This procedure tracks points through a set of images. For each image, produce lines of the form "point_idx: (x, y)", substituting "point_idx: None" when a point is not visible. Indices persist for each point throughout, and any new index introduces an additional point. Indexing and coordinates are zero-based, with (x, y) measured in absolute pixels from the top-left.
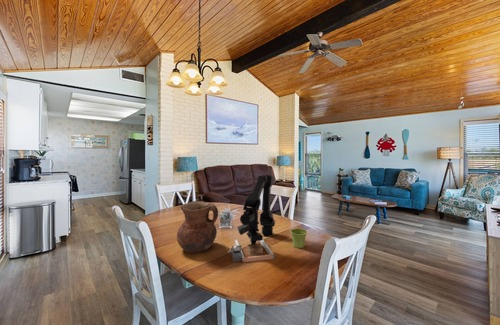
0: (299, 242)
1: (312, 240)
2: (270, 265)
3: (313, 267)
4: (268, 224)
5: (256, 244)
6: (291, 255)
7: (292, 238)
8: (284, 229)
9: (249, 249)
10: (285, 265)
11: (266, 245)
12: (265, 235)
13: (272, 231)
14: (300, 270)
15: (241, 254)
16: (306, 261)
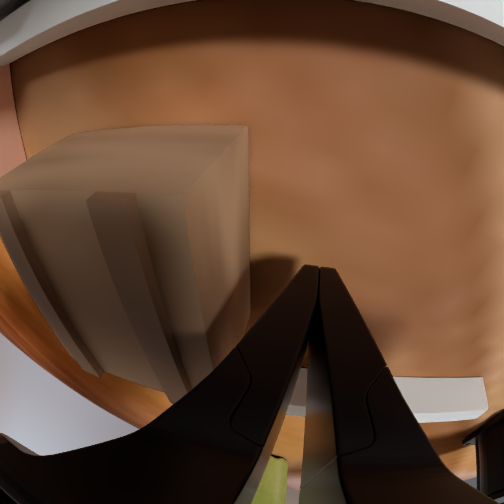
0: None
1: (296, 480)
2: (9, 264)
3: (64, 383)
4: (500, 497)
5: (153, 365)
6: (147, 404)
7: (256, 493)
8: (468, 463)
9: (15, 179)
10: (38, 328)
11: None
12: (499, 420)
13: (476, 459)
14: (28, 344)
15: (11, 18)
16: (100, 399)
